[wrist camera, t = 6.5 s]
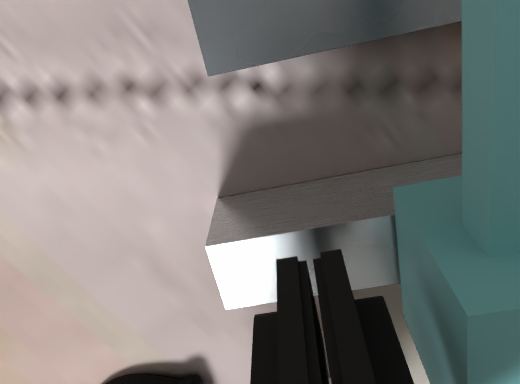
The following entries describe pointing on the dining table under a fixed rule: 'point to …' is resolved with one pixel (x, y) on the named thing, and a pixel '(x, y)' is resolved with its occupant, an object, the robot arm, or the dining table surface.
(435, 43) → the dining table surface
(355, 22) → the hole plate
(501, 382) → the sliding leg
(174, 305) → the dining table surface
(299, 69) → the dining table surface
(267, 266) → the rail
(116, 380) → the black c clamp
